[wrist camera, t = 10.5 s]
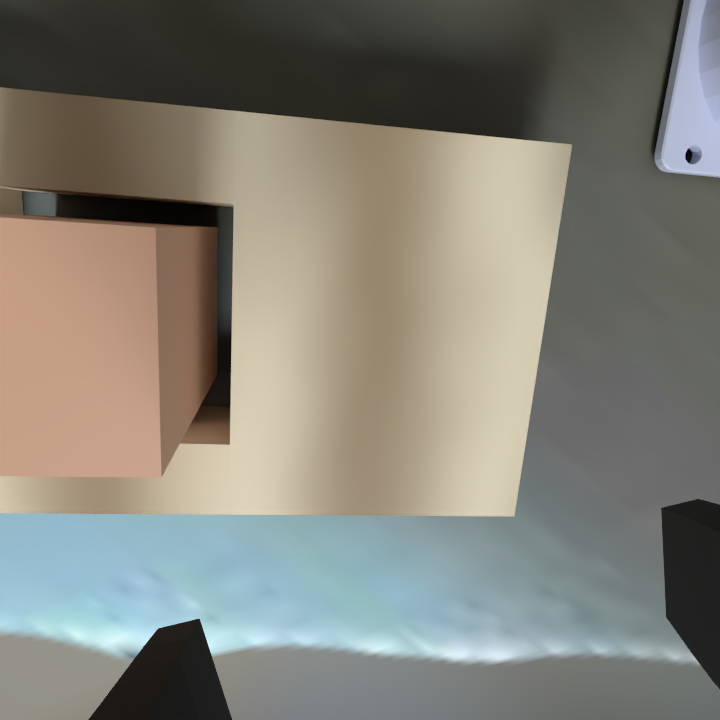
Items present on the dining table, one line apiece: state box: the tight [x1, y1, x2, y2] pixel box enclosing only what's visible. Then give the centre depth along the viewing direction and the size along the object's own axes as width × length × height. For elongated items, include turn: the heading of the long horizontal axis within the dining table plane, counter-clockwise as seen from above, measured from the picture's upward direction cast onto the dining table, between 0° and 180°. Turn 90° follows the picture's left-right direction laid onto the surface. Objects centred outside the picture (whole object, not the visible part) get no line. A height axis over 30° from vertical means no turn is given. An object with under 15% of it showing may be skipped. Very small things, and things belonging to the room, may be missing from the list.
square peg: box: [0, 214, 218, 478], centre depth 12 cm, size 4×4×7 cm
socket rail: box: [0, 87, 572, 516], centre depth 14 cm, size 22×10×3 cm, turn 86°
